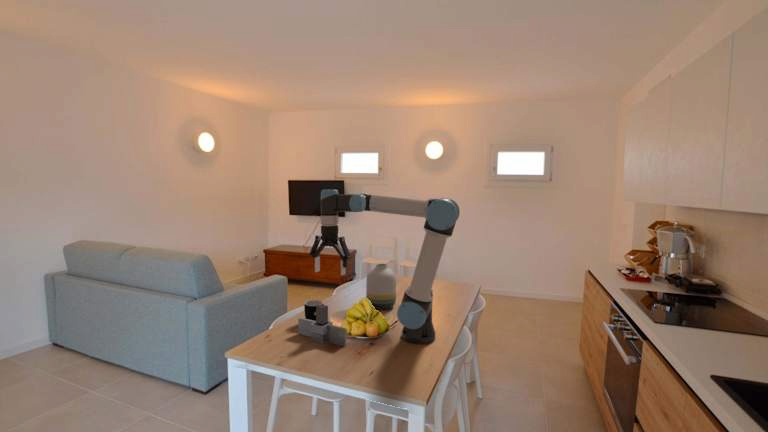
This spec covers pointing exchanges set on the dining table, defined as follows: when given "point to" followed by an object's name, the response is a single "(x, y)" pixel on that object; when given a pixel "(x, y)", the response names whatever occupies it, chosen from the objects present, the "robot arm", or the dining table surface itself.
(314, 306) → the mug
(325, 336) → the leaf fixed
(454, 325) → the dining table surface
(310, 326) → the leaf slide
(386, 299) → the vase
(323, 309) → the pin
